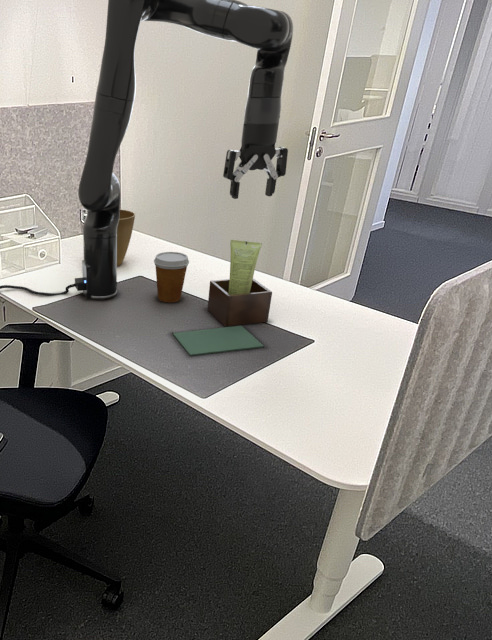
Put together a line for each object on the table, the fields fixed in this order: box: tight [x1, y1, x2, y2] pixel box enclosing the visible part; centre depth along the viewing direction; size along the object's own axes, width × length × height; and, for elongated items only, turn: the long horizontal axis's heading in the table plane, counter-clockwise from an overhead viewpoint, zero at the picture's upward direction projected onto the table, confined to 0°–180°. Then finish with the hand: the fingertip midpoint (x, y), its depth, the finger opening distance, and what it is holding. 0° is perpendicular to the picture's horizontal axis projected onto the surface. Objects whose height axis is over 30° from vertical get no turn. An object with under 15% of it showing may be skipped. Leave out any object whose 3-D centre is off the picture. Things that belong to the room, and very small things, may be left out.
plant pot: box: [117, 209, 136, 267], centre depth 184 cm, size 15×15×16 cm
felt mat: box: [172, 325, 264, 357], centre depth 136 cm, size 18×12×1 cm, turn 102°
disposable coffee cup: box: [153, 251, 190, 303], centre depth 157 cm, size 10×10×12 cm
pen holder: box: [206, 278, 273, 327], centre depth 147 cm, size 12×12×8 cm
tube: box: [228, 239, 263, 295], centre depth 144 cm, size 6×5×20 cm
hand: (251, 197), depth 133 cm, fingers open, 8 cm apart
